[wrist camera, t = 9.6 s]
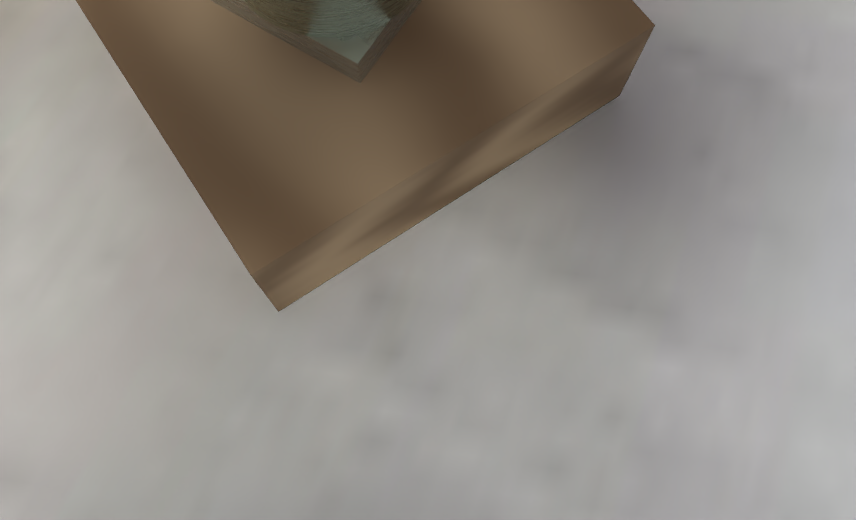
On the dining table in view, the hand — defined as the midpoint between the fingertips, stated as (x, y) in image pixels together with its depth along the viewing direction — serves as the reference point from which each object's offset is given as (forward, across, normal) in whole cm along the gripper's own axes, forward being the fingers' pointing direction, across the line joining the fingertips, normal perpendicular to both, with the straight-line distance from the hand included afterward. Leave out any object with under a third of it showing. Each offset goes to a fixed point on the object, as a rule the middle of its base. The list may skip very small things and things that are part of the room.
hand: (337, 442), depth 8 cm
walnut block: (+19, +6, 0) cm, 20 cm away
